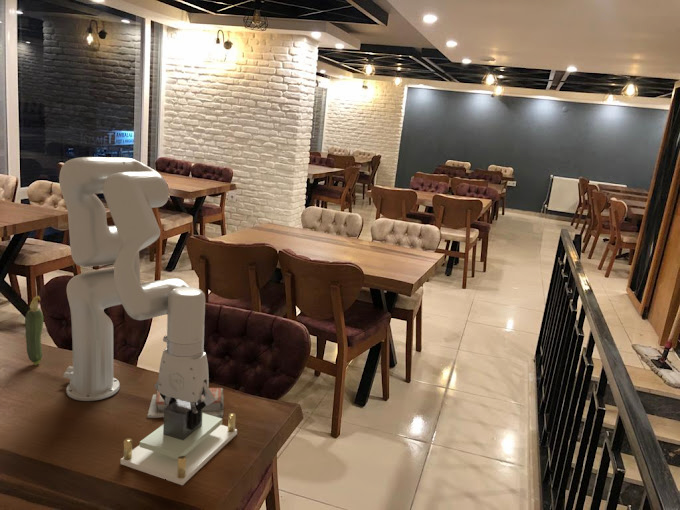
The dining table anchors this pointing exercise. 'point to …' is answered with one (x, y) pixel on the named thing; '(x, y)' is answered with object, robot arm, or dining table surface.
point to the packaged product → (158, 402)
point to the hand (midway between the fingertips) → (183, 422)
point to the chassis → (184, 465)
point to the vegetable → (34, 331)
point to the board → (178, 444)
